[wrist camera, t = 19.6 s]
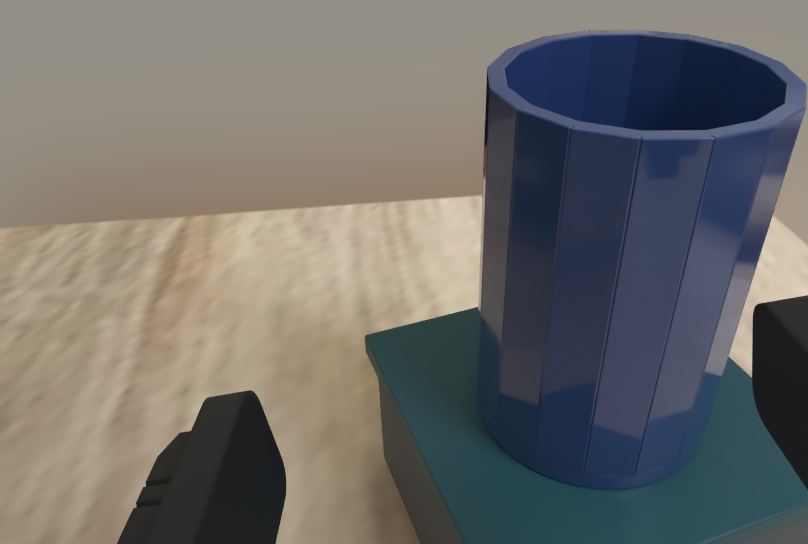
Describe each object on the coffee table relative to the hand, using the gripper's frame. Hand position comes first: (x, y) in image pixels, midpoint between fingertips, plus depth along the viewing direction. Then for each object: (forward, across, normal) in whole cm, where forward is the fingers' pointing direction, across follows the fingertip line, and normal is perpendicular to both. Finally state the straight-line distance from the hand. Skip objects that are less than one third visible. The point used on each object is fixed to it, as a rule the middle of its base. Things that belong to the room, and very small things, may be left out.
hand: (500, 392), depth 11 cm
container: (+9, -1, +13) cm, 15 cm away
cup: (+8, -2, +7) cm, 11 cm away
